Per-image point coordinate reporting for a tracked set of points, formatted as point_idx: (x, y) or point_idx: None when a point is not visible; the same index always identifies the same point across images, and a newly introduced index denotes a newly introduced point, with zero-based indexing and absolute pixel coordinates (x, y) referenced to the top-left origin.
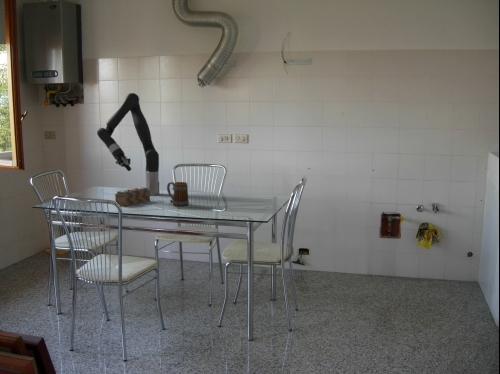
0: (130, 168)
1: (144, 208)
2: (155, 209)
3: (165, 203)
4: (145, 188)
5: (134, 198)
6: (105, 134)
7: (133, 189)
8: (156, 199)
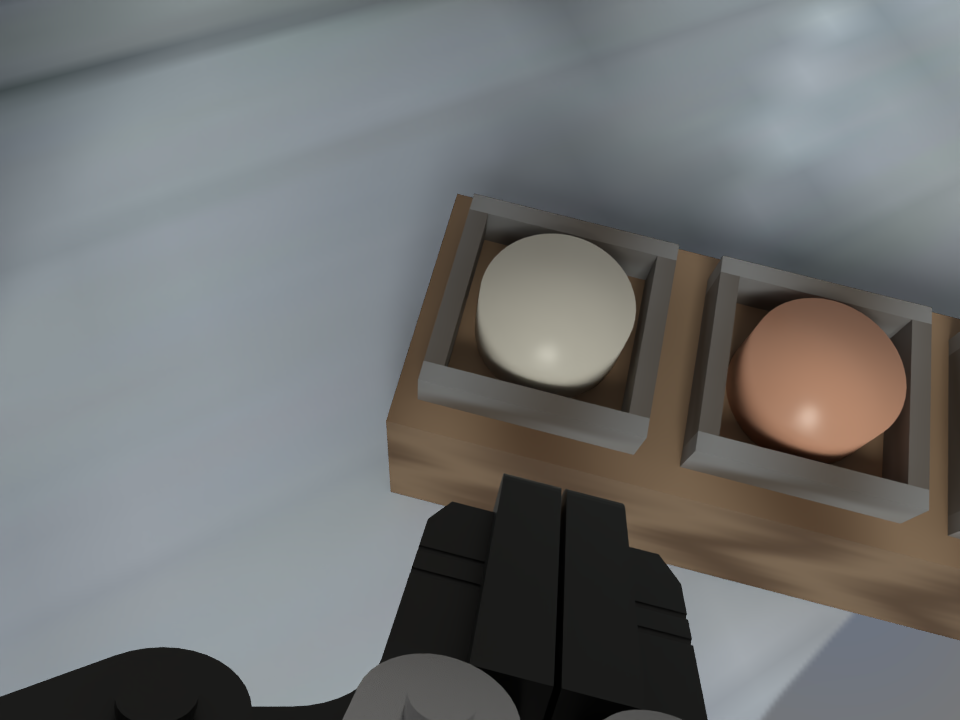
0: (547, 494)
1: (940, 168)
2: (909, 43)
3: (526, 61)
4: (536, 223)
5: None
6: None
7: (858, 337)
8: (280, 267)
